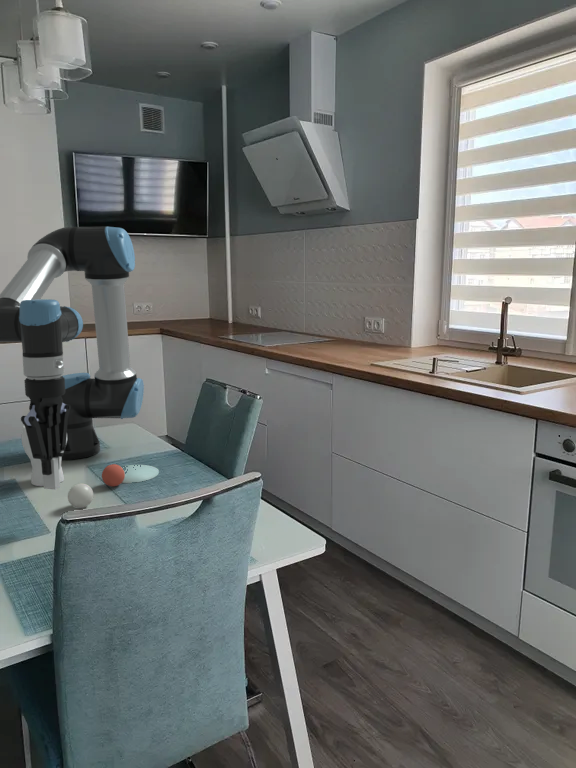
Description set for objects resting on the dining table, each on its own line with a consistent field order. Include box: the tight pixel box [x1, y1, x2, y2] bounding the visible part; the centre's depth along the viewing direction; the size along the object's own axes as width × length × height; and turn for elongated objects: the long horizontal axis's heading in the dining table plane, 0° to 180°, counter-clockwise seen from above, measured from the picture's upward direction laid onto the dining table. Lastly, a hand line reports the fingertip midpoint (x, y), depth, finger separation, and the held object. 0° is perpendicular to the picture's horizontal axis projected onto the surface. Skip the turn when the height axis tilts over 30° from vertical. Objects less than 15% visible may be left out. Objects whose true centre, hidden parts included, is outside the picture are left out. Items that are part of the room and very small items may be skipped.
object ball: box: [101, 463, 125, 488], centre depth 146 cm, size 6×6×6 cm
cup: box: [20, 425, 67, 487], centre depth 148 cm, size 11×11×15 cm
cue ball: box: [67, 483, 94, 509], centre depth 132 cm, size 6×6×6 cm
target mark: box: [121, 464, 160, 484], centre depth 155 cm, size 14×14×1 cm
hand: (52, 487), depth 122 cm, fingers closed
